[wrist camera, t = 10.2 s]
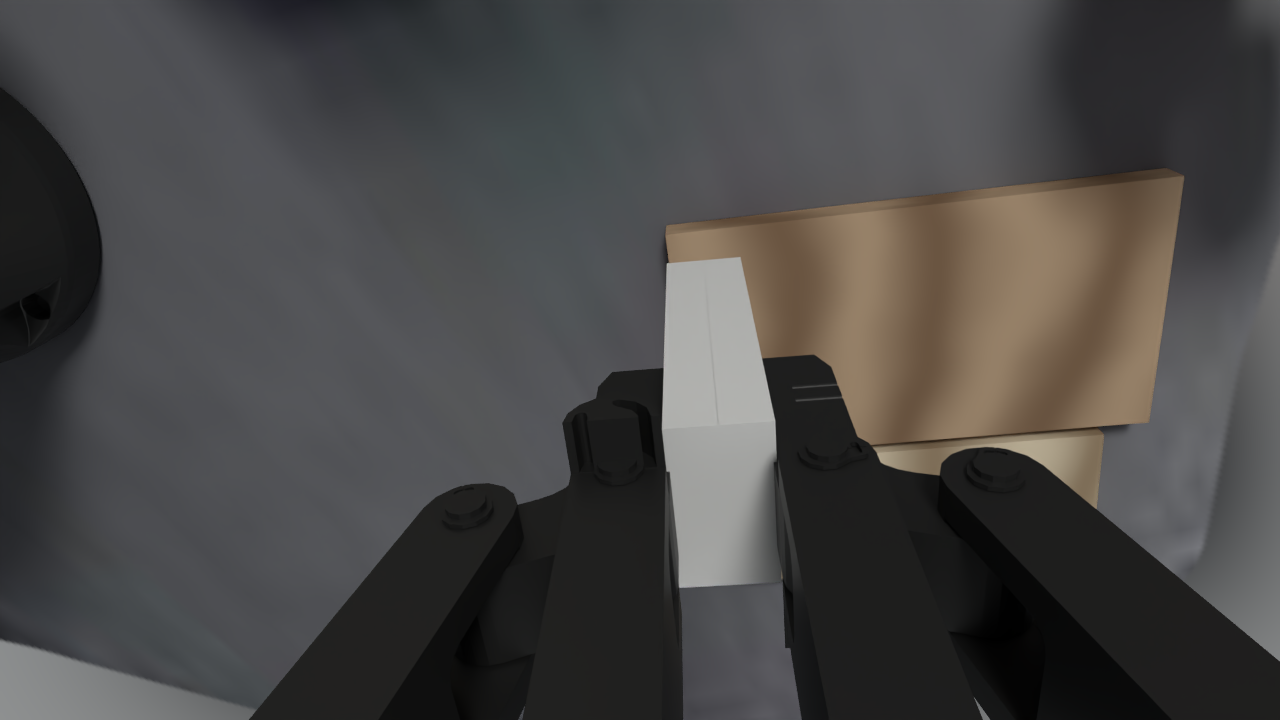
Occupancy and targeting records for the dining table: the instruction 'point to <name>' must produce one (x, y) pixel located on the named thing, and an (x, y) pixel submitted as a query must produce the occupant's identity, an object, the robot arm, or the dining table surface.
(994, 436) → the plank
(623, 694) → the robot arm
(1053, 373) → the floorboard
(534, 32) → the dining table surface
